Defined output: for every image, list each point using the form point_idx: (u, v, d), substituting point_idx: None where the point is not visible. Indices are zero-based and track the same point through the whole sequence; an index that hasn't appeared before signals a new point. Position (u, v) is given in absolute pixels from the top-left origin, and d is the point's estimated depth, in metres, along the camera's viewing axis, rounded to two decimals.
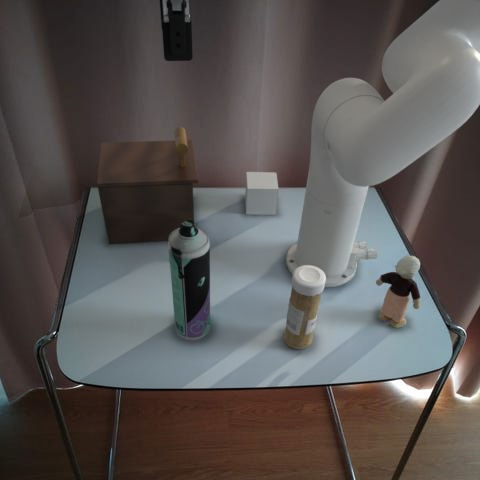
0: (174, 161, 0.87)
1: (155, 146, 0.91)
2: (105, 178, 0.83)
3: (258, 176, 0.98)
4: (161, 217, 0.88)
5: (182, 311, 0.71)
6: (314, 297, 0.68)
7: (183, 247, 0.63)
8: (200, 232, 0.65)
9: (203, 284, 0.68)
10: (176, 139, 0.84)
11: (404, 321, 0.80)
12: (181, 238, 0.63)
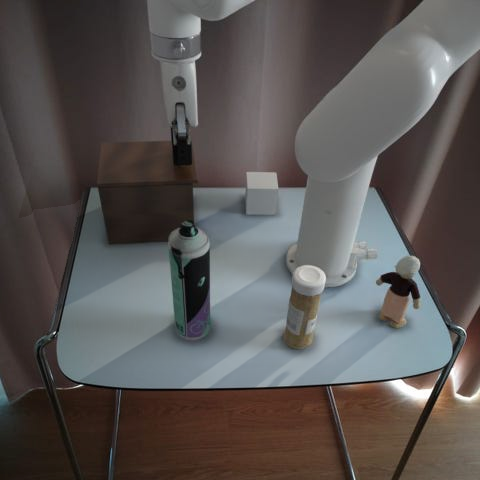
0: None
1: (155, 146, 0.91)
2: (105, 178, 0.83)
3: (258, 176, 0.98)
4: (161, 217, 0.88)
5: (182, 311, 0.71)
6: (314, 297, 0.68)
7: (183, 247, 0.63)
8: (200, 232, 0.65)
9: (203, 284, 0.68)
10: None
11: (404, 321, 0.80)
12: (181, 238, 0.63)
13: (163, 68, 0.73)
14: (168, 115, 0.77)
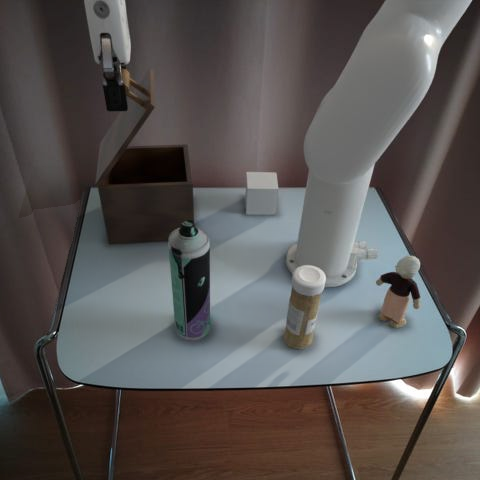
0: (137, 105, 0.79)
1: None
2: (99, 174, 0.82)
3: (258, 176, 0.98)
4: (161, 217, 0.88)
5: (182, 311, 0.71)
6: (314, 297, 0.68)
7: (183, 247, 0.63)
8: (200, 232, 0.65)
9: (203, 284, 0.68)
10: None
11: (404, 321, 0.80)
12: (181, 238, 0.63)
13: None
14: (93, 49, 0.69)
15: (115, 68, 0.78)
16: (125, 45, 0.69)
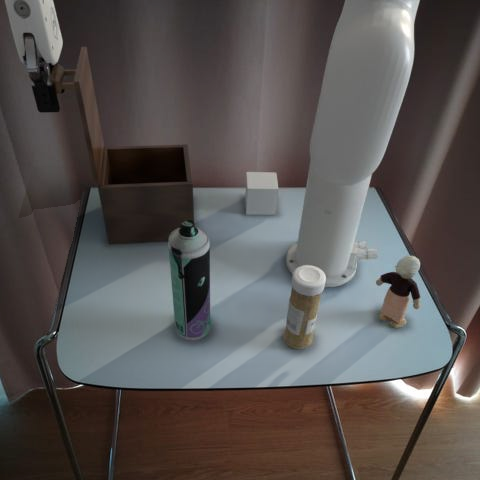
0: None
1: None
2: None
3: (258, 176, 0.98)
4: (161, 217, 0.88)
5: (182, 311, 0.71)
6: (314, 297, 0.68)
7: (183, 247, 0.63)
8: (200, 232, 0.65)
9: (203, 284, 0.68)
10: None
11: (404, 321, 0.80)
12: (181, 238, 0.63)
13: None
14: (17, 49, 0.68)
15: None
16: (50, 45, 0.68)
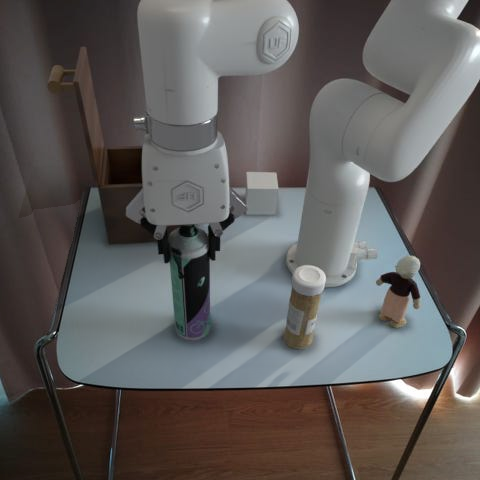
0: None
1: None
2: None
3: (258, 176, 0.98)
4: None
5: (182, 311, 0.71)
6: (314, 297, 0.68)
7: (183, 247, 0.63)
8: (200, 232, 0.65)
9: (203, 284, 0.68)
10: None
11: (404, 321, 0.80)
12: (181, 238, 0.63)
13: None
14: None
15: (209, 231, 0.65)
16: (147, 206, 0.58)
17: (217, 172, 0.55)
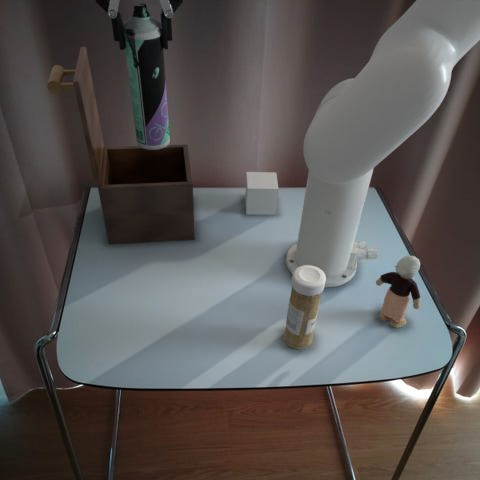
0: None
1: None
2: None
3: (258, 176, 0.98)
4: (161, 217, 0.88)
5: (140, 111, 0.76)
6: (314, 297, 0.68)
7: (136, 27, 0.68)
8: (152, 18, 0.70)
9: (158, 77, 0.73)
10: None
11: (404, 321, 0.80)
12: (134, 19, 0.68)
13: None
14: None
15: (161, 16, 0.69)
16: None
17: None
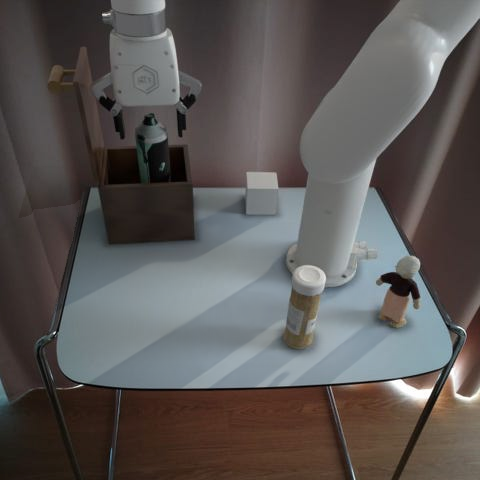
0: None
1: None
2: None
3: (258, 176, 0.98)
4: (161, 217, 0.88)
5: None
6: (314, 297, 0.68)
7: (145, 134, 0.81)
8: (159, 124, 0.83)
9: (163, 170, 0.86)
10: None
11: (404, 321, 0.80)
12: (144, 127, 0.82)
13: None
14: None
15: (177, 111, 0.82)
16: (115, 88, 0.75)
17: (167, 58, 0.73)
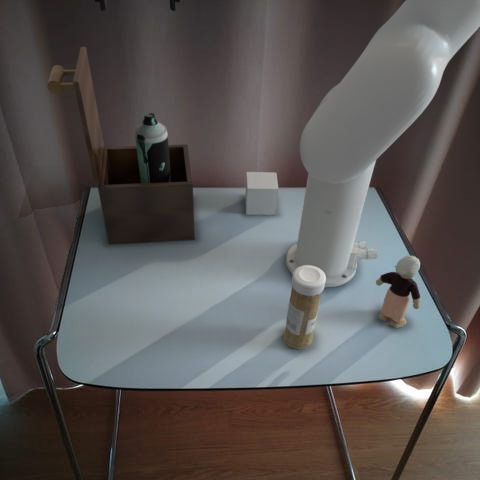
0: None
1: None
2: None
3: (258, 176, 0.98)
4: (161, 217, 0.88)
5: None
6: (314, 297, 0.68)
7: (145, 134, 0.81)
8: (159, 124, 0.83)
9: (163, 169, 0.86)
10: None
11: (404, 321, 0.80)
12: (144, 127, 0.82)
13: None
14: None
15: None
16: None
17: None
